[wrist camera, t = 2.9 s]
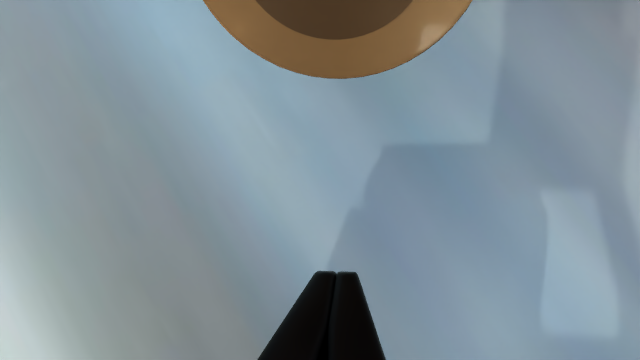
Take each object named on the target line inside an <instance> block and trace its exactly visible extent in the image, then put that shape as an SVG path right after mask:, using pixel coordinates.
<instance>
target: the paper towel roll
mask: <svg viewBox="0 0 640 360" xmlns="http://www.w3.org/2000/svg"><path fill="white" fill-rule="evenodd" d="M203 1H204V2H205V4H206V5H207V7H208V8H209V10H210V11H211V13H212V14H213V15H214V16H215V18H216V19H217V20H218V21H219V22H220V24H221V25H222V26H223V27H224V28H225V29H226V30H227V31H228V32H229V33H230V34H231V35H232V36H233V37H234V38H235V39H236V40H238V41H239V42H240V43H241V44H243V45H244V46H245V47H246V48H248V49H249V50H250V51H252V52H254V53H255V54H257V55H258V56H260V57H262V58H263V59H265V60H267V61H269V62H271V63H273V64H275V65H277V66H279V67H282V68H285V69H287V70H290V71H293V72H296V73H300V74H304V75H308V76H313V77H321V78H335V79H346V78H356V77H364V76H368V75H373V74H378V73H381V72H384V71H387V70H390V69H393V68H395V67H397V66H399V65H402V64H404V63H406V62H408V61H410V60H412V59H413V58H415V57H417V56H418V55H420V54H421V53H423V52H425V51H426V50H427V49H429V48H430V47H431V46H432V45H434V44H435V43H436V42H438V41H439V40H440V39H441V38H442V37H443V36H444V35H445V34H446V33H447V32H448V31H449V30H450V29H451V28H452V27H453V26H454V25H455V23H456V22H457V21H458V20H459V18H460V17H461V16H462V15H463V13H464V12H465V11H466V10H467V8H468V6H469V5H470V3H471V2H472V0H203Z"/></svg>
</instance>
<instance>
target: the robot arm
mask: <svg viewBox="0 0 640 360" xmlns="http://www.w3.org/2000/svg"><path fill="white" fill-rule="evenodd" d="M258 360H386V359H385V356H384V353H383V350H382V347H381V344H380V341H379V338H378V335H377V332H376V329H375V326H374V323H373V319H372V316H371V313H370V310H369V307H368V304H367V301H366V298H365V295H364V292H363V289H362V286H361V283H360V280H359V277H358V274H357V273H356V272H338V273H337V274H336V272H334V271H317V272H316V273H315V274H314V275H313V277H312V278H311V280H310V281H309V283H308V284H307V286H306V287H305V289H304V290H303V292H302V293H301V295H300V296H299V298H298V299H297V301H296V302H295V304H294V305H293V307H292V308H291V310H290V311H289V313H288V314H287V316H286V317H285V319H284V320H283V322H282V323H281V325H280V326H279V328H278V329H277V331H276V332H275V334H274V335H273V337H272V338H271V340H270V341H269V343H268V344H267V346H266V348H265V349H264V351H263V352H262V354H261V355H260V357H259V358H258Z"/></svg>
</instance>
